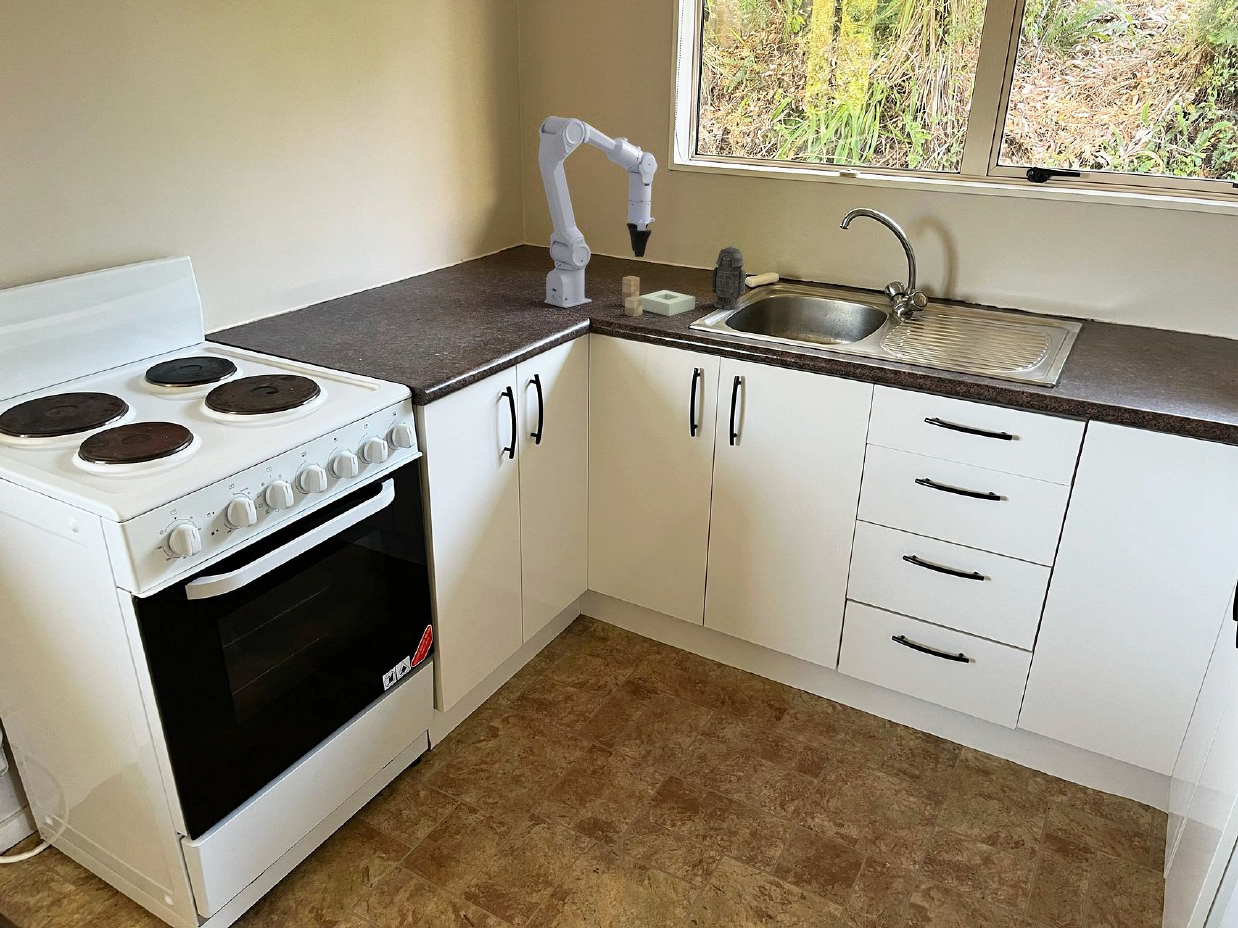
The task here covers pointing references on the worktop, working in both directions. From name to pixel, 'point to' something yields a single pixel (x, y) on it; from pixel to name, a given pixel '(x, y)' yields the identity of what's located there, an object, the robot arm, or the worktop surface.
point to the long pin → (630, 287)
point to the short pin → (633, 306)
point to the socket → (667, 302)
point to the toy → (729, 279)
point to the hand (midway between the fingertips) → (637, 253)
